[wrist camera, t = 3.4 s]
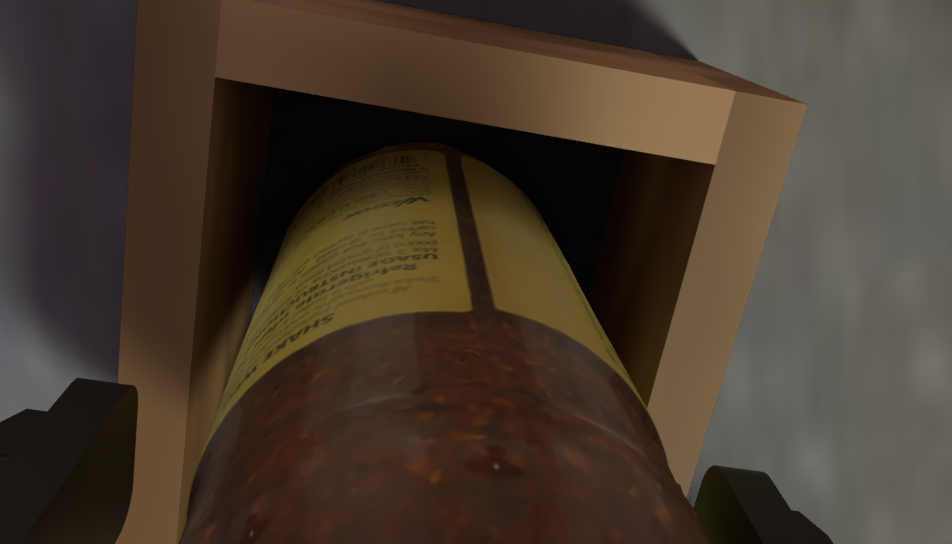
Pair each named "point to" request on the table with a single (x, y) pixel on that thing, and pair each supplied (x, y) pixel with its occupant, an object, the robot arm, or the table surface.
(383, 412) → the sauce bottle
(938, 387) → the table surface
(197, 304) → the square holder
